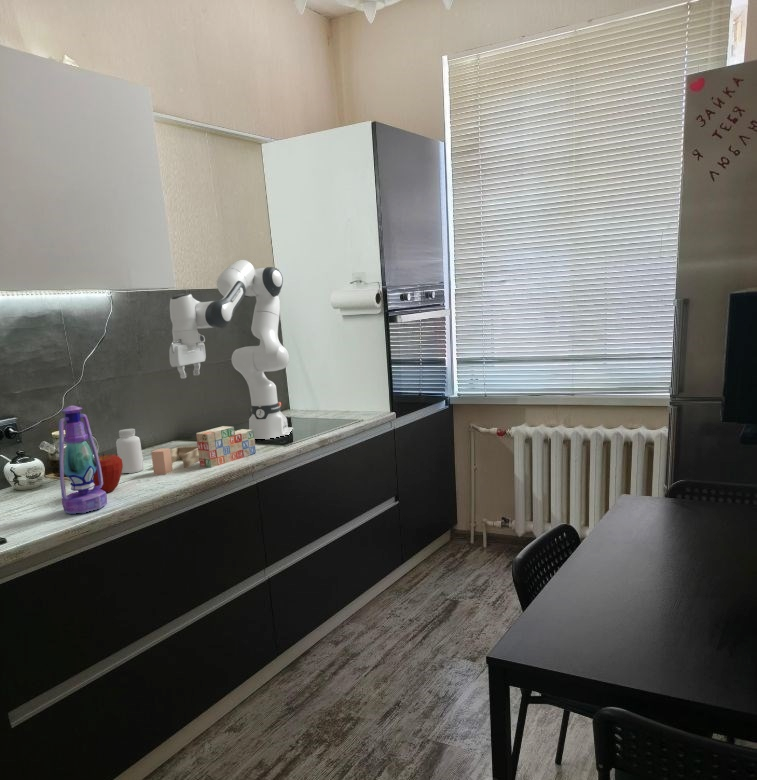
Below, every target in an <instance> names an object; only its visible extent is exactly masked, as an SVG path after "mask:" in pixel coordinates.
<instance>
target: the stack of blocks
mask: <svg viewBox="0 0 757 780" xmlns="http://www.w3.org/2000/svg"><path fill="white" fill-rule="evenodd" d="M195 434H196V446H197V447H198V453H199V461H198V462H199V466H200V467H203V466H204V468H215V467H218V466H221V465H224V464H227V463H230V462H233V461H236V460H240V459H243V458H245V457H249V456H252V455H255V454H254V453H257V450H256V440H255V439H254V432H253V430H249V429H244V428H241V429H238V430H235V427H234V426H228V425H227V426H226V425H222V426H219V427H215V428H211V429H207V430H203V431H200V432H196V433H195ZM251 454H252V455H251ZM248 455H249V456H248Z"/></svg>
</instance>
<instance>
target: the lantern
mask: <svg viewBox="0 0 757 780" xmlns="http://www.w3.org/2000/svg"><path fill="white" fill-rule="evenodd" d="M83 409H84V408H83V407H81V406H77V405H68V406H67V407H65V408H63V409H61V410H60V412H63V414H65V415H64V417H62V418H60V419H59V420H58V435H59V436H58V440H59V441H58V449H59V450H58V451H59V453H58V454H59V481H60V490H61V498H62V499H61V504H62V508H63V511H64V512H65V513H67V514H69V515H77V514H76V513H82V514H86V512H88V513H90V512H89V511H91V512H94V511H93V510H95V511H98V510H97V509H99V510H100V509H101V508H103V507H104V506H106V505H107V504H108V497H107V492H105V491H103V490H101V489H99V488H101V487H102V485H103V477H102V470H101V465H100V461H99V457H100V456H99V453H98V450H97V446H96V443H95V440H94V436H93V434H92V430H91V426H90V422H89V419H88V416H87V414H84V413H80V412H81V410H83ZM81 418H82V419H83V421H84V422H83V421H82V420H81ZM65 422H66V423H65ZM85 429H86V431H85ZM87 440H89V444H90V445H89V444H88V442H87ZM65 443H66V446H65ZM90 446H91V448H90ZM64 449H65V450H64ZM94 458H95V459H94ZM95 461H96V462H95ZM96 469H97V471H98V478H99V485H98V486H95V484H94V483H93V482H94V480H93V477H94V474H95V472H96ZM65 476H66V478H67V479H68V480H69V481H70V486H71V487H70V490H72V491H73V492H70V493H69V494H67V491H66V490H67V489H66V483H65V481H66V480H65ZM94 486H95V487H94ZM74 491H75V492H74Z"/></svg>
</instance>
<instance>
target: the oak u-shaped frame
mask: <svg viewBox="0 0 757 780" xmlns="http://www.w3.org/2000/svg"><path fill="white" fill-rule="evenodd" d="M170 452H171V460H172V464H173V463H175V462H177V461H178V460H179V461H180V460H182V462H183V468H189V467H191V466H192V465H194V464H197V463H198V462H199V453H198V447H197V445H196V446H194V445H193V446H176V447H173V448H170Z"/></svg>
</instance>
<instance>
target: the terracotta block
mask: <svg viewBox="0 0 757 780" xmlns="http://www.w3.org/2000/svg"><path fill="white" fill-rule="evenodd" d="M170 450H171V448H170V447H168V448H157V449H155V450H153V451H151V452H150V453H151V460H152V469H153V475H154V474H159V475H168V474H169V472H170V473H172V472H174V470H173V463H172V460H171V452H170ZM167 473H168V474H167Z"/></svg>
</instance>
